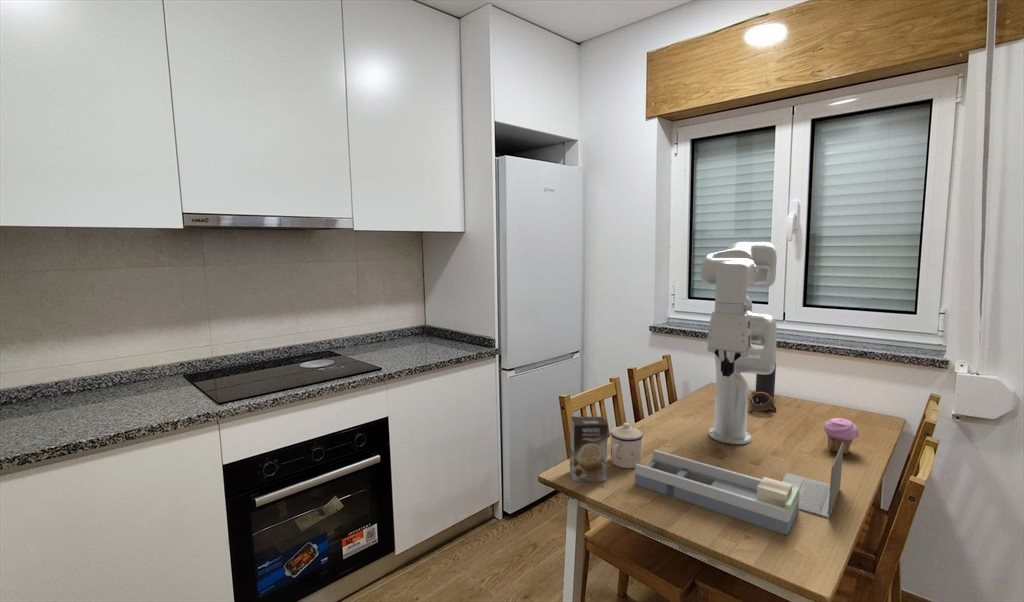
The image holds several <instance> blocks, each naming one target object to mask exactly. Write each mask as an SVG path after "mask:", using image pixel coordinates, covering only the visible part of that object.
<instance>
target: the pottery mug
mask: <svg viewBox="0 0 1024 602" xmlns="http://www.w3.org/2000/svg"><path fill="white" fill-rule="evenodd" d="M750 395H751V396H750V397H749V401H748V404H749V406H748V410H749V411H750V412H751V413H753V412H763V411H767V410H772V411H774V412H775V413H776V412H777V406H776V401H775V398H774V399H773V398H772V397H771V396H770V395H769V394H767V393H765V392H756V390H755V391H752V392H751V394H750ZM761 396H763V398H762V397H761Z"/></svg>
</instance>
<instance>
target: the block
mask: <svg viewBox="0 0 1024 602" xmlns="http://www.w3.org/2000/svg"><path fill="white" fill-rule="evenodd" d="M761 479H762V481H761V482H760V483H759V485H758V486H757V500H759V501H762V502H766V503H769V504H772V505H775V506H779V507H782V508H785V503H786V501H787V499H788V498H789V496H790V494H791V492H792V484H788V483H785V482H781V481H782V480H777V479H773V478H771V477H770V478H769V477H766V476H763V478H761Z"/></svg>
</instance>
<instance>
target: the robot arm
mask: <svg viewBox="0 0 1024 602" xmlns="http://www.w3.org/2000/svg"><path fill="white" fill-rule="evenodd" d="M776 251H777V250H776V248H775V246H774V245H773V244H772V243H771V242H767V241H766V242H765V241H764V242H763V241H761V242H760V241H757V242H755V241H753V242H752V241H751V242H750V241H739V242H735V243H733V244H731V245H729V246H728V247H727V249H726V250H721V251H718V252H714V253H713V252H712V253H709V254H707V255H706V256H705V257H704V259H703V260H702V263H701V266H700V272H699V273H700V274H699V275H700V279H701V281H702V282H703V284H704V285H708V286H715V294H714V296H715V298H714V300H715V301H714V311H712V312H711V317H710V320H709V325H708V330H707V332H708V333H707V348H706V351H707V352H708V353H711V354H714V362H715V363H714V365H715V373H716V375H715V377H716V379H715V380H716V381H715V399H714V401H715V402H714V424H713V427H711V428H710V429H709V430H708V435H709V437H710V438H712V439H713V440H715V441H717V442H720V443H724V444H729V445H745V444H749V443H750V442H751V441H752V435H751V434H750V432H748V431H747V422H748V417H747V416H748V404H749V401H748V400H749V385H748V381H746V378H745V377H744V376H743V375H742V373H743V374H753V375H754V374H755V375H756V374H763V375H767V374H771V373H772V372H773V371H774V368H775V363H776V364H777V362H776V360H777V333H778V332H777V327H778V326H777V322H776V319H775V318H774V317H773V316H772V315H769V314H767V313H753V312H752V311H753V301H752V299H751V298H750V297H749V295H748V294H747V293H748V288H771V287H772V286H773V285H774V283H775V281H776V276H777V259H778V258H777V252H776Z"/></svg>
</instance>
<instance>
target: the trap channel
mask: <svg viewBox="0 0 1024 602" xmlns="http://www.w3.org/2000/svg"><path fill="white" fill-rule="evenodd" d="M634 469H635V470H634V471H635V472H634V485H636V486H639V487H642V488H645V489H647V490H650V491H654V492H657V493H659V494H662V495H666V496H668V497H671V498H674V499H678V500H681V501H682V502H683V501H684V502H687V503H689V504H692V505H695V506H698V507H701V508H705V509H706V510H707V509H708V510H711V511H713V512H716V513H720V514H723V515H725V516H729V517H731V518H734V519H737V520H740V521H743V522H746V523H749V524H752V525H755V526H759V527H761V528H764V529H766V530H767V529H768V530H770V531H773V532H777V533H780V534H782V535H786V536H788V534H789V532H790V530H791V529H792V526H793V524H794V522H795V519H796V517H797V515H798V513H799V510H798V507H799V493H800V490H799V488H798V487H795V486H794V488H792V492H791V494H790V496H789V498H788V499H787V501H786V503H785V508H782V507H779V506H775V505H772V504H769V503H766V502H762V501H759V500H757V486H758V485H759V483H760V482H761V481H762V479H763V478H759V477H758V478H757V477H754V476H751V475H748V474H743V473H740V472H736V471H733V470H729V469H726V468H722V467H718V466H715V465H711V464H708V463H703V462H701V461H697V460H693V459H690V458H687V457H683V456H679V455H676V454H672V453H669V452H666V451H665V452H664V451H661V450H657V449H653V451H652V459H651V460H650V461H649V462H648V463H647V464H645V465H643V464H642V463H641V464H638V463H637V464H636V465H635V468H634Z"/></svg>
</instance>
